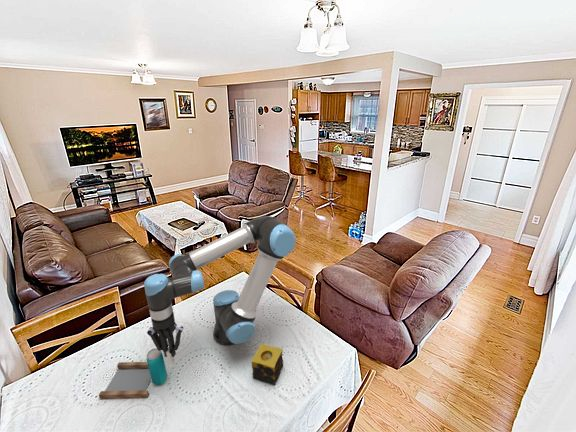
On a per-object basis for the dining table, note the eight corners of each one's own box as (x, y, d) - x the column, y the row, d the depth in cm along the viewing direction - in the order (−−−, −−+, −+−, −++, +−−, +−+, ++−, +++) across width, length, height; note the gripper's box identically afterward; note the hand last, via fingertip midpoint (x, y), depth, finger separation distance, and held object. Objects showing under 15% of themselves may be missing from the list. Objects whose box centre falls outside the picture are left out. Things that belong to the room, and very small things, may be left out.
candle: (283, 365, 122) (283, 348, 118) (275, 386, 113) (274, 368, 109) (262, 359, 125) (261, 342, 121) (252, 378, 116) (251, 361, 113)
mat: (155, 369, 120) (155, 368, 120) (144, 394, 110) (144, 393, 110) (117, 370, 120) (117, 369, 120) (102, 395, 110) (102, 394, 110)
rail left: (149, 394, 110) (148, 390, 109) (147, 398, 108) (146, 393, 108) (102, 395, 109) (100, 391, 109) (100, 399, 108) (98, 394, 107)
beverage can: (166, 372, 119) (160, 345, 113) (169, 382, 114) (163, 355, 109) (151, 379, 116) (144, 351, 111) (153, 390, 112) (146, 362, 106)
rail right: (162, 365, 122) (161, 361, 121) (160, 368, 121) (159, 364, 120) (120, 366, 122) (118, 362, 121) (118, 369, 120) (116, 365, 119)
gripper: (183, 307, 106) (191, 353, 115) (148, 307, 106) (158, 354, 115) (176, 321, 99) (185, 369, 108) (139, 321, 99) (151, 370, 108)
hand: (171, 361), depth 111 cm, fingers closed
